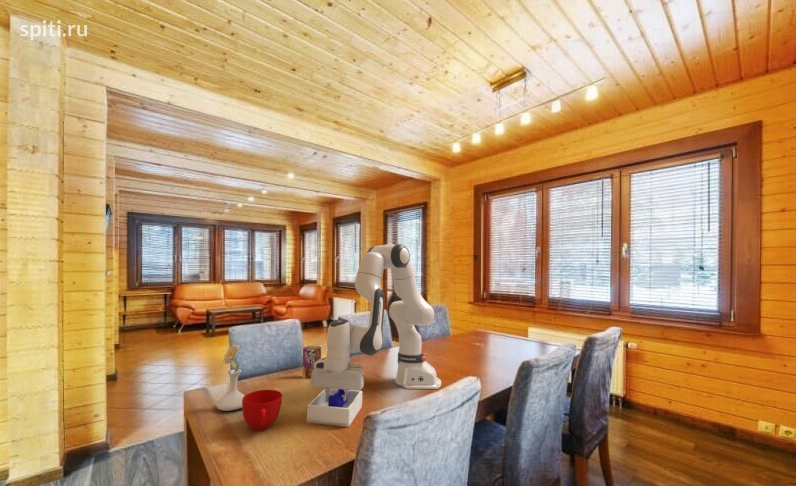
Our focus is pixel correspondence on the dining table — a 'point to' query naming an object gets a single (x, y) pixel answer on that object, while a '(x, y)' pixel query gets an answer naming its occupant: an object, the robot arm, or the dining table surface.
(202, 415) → the dining table surface
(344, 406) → the walled box
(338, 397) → the blue curved block
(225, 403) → the flower in vase
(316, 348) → the candy box
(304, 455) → the dining table surface
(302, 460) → the dining table surface
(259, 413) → the ceramic cup
